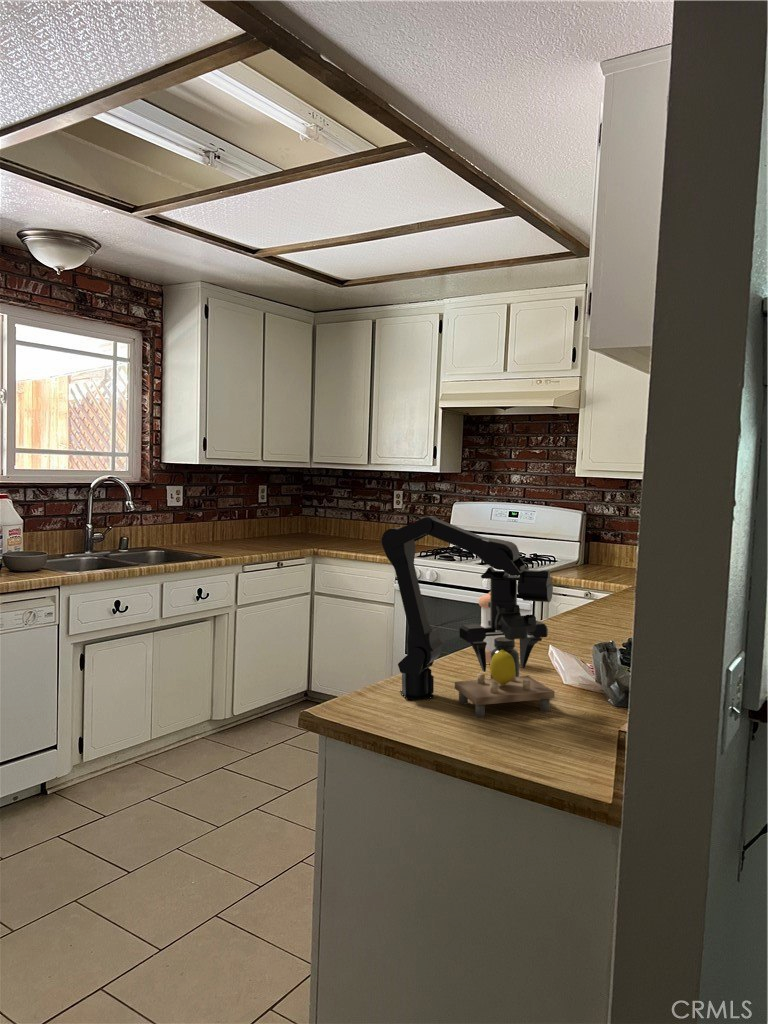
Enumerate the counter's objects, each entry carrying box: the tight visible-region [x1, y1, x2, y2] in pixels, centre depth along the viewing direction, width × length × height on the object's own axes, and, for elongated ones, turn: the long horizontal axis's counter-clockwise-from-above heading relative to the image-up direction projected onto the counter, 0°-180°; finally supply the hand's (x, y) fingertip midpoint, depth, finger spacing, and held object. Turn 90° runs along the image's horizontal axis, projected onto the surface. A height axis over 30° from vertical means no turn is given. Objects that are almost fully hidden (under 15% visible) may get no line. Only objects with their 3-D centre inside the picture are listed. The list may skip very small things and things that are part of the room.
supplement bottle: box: [490, 636, 520, 679], centre depth 183 cm, size 7×7×12 cm
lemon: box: [489, 650, 515, 686], centre depth 169 cm, size 6×6×8 cm
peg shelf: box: [454, 672, 555, 719], centre depth 169 cm, size 18×13×6 cm
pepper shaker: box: [478, 591, 505, 664], centre depth 209 cm, size 7×7×19 cm
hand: (503, 669), depth 169 cm, fingers open, 9 cm apart
